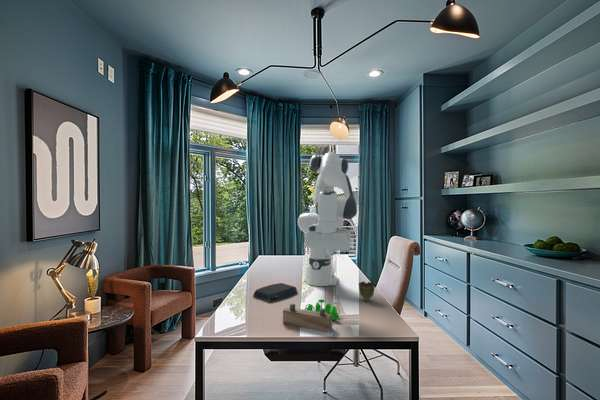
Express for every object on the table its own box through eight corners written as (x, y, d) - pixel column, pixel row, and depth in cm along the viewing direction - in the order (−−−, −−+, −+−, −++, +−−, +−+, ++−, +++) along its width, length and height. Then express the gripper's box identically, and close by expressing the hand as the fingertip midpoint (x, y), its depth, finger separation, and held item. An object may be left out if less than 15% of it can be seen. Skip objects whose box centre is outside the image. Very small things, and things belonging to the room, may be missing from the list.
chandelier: (333, 309, 133) (334, 293, 133) (345, 324, 118) (345, 305, 118) (299, 311, 130) (299, 295, 130) (306, 326, 115) (307, 308, 115)
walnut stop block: (287, 319, 121) (287, 301, 121) (331, 327, 114) (332, 308, 114) (282, 323, 117) (283, 304, 117) (328, 332, 110) (328, 312, 110)
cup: (375, 298, 147) (375, 281, 147) (374, 303, 140) (374, 286, 140) (359, 297, 149) (359, 280, 149) (357, 302, 142) (357, 284, 142)
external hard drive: (251, 297, 149) (251, 289, 149) (280, 289, 163) (281, 281, 163) (269, 304, 140) (269, 295, 140) (299, 294, 154) (299, 286, 154)
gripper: (352, 227, 135) (352, 259, 135) (309, 225, 143) (309, 255, 144) (349, 229, 129) (348, 262, 129) (303, 227, 137) (303, 258, 138)
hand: (327, 258), depth 137 cm, fingers closed
